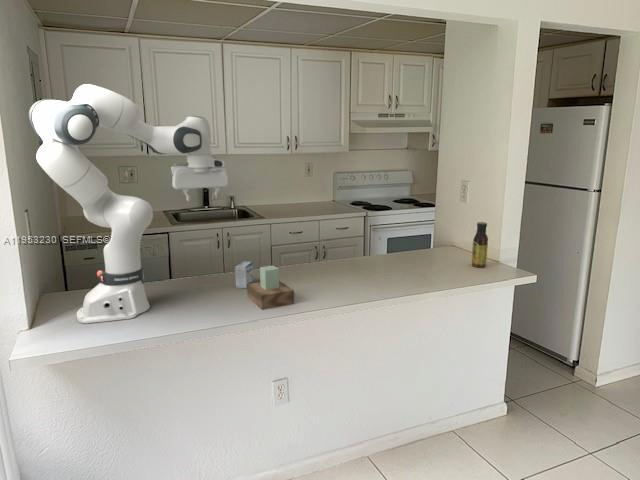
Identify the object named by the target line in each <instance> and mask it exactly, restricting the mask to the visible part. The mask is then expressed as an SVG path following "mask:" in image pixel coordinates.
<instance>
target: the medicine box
mask: <svg viewBox="0 0 640 480" xmlns="http://www.w3.org/2000/svg"><path fill="white" fill-rule="evenodd" d="M253 266H254V265H253V261H247V260H245V261H241V262H240V263H239V264H237V265H236V266H235V267H234V272H235V287H236V288H237V289H247V284H252V283H254V268H253Z"/></svg>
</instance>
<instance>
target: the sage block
mask: <svg viewBox="0 0 640 480" xmlns="http://www.w3.org/2000/svg"><path fill="white" fill-rule="evenodd" d="M279 272H280V270H279V268H278V267H276V266H275V265H267V266H261V267H259V279H260V280H259V282H260V286H261V287H262V288H264V289H265V290H270V289H276V288H279V281H280V280H279V278H280V275H279Z"/></svg>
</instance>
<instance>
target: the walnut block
mask: <svg viewBox="0 0 640 480" xmlns="http://www.w3.org/2000/svg"><path fill="white" fill-rule="evenodd" d="M246 290H247V291H246V293H247V298H248V299H249V300H250V301H251V302H252V303H253V304H254V305H256V306H257V307H258V308H259V309H261V310H267V309H273V308H276V307H277V308H279V307H284V306H289V305H293V304H295V290H294V289H293V288H291V287H290V286H288V285H287V284H285V283H284V282H282V281H281V280H279V288H276V289H270V290H265V289H264V288H262V287H261V286H260V281H259V282H253V283H252V284H247V288H246Z"/></svg>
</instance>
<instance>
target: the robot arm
mask: <svg viewBox="0 0 640 480" xmlns="http://www.w3.org/2000/svg"><path fill="white" fill-rule="evenodd" d="M140 117H141V116H140V110H139V107H138V105H137V104H136V103H135V102H133V101H132V100H131V99H130V98H127V97H126V96H124V95H122V94H120V93H117V92H115V91H113V90H110V89H108V88H105V87H101V86H98V85H94V84H91V83H90V84H89V83H87V84H86V83H84V84H82V85H79V87H77V88H76V89H75V91H74V93H73V96H72V98H71V100H69V101H65V100H58V99H57V100H56V99H51V98H45V99H41V100H38V101H36V102H34V103H33V104H32V106H31V107H30V108H29V111H28V118H29V123H30V124H31V127H32V129H33V131H34V133H35V137H36V139H37V140H38V141H39V142H42V145H40V146H39V148H38V149H37V152H36V161H37V163H38V165H39V166H40V168H41V169H42V170H43V171H44V172H45V173H46V174H47V176H48V177H49V178H50V179H51V180H53V181H54V183H55V184H56V185H58V186H59V187H60V188H61V189H63V191H65V192H66V193H67V194H69V196H71V198H73V199H74V200H75V201H76V202H78V203H79V204H80V205H79V206H81V207H82V208H83V209H82V210H83V214H84V217H85V219H86V220H87V221H88V222H90V223H92V224H93V225H95V226H99V227H102V228H107V229H111V235H110V240H109V242H108V243H106V244H105V245H104V247H103V250H102V251H103V259H104V261H103V262H104V268H105V270H98V271H97V272H96V275H97V278H99V283H98V284H97V285H96V286H94V287H93V288H92V289H91V290H89V291H88V292H87V293H86V295H85V296H84V299H83V304H82V307H80V308H79V309H78V310H77V312H76V319H77V321H78V322H79V323H82V324H92V323H103V322H111V321H119V320H130V319H134V318H135V317H138V315H139V314H142V313H144V312H147V311H148V310H149V309H150V306H151V305H150V303H149V300H148V298H147V295H146V291H145V285H144V284H145V276H144V270H143V267H142V261H141V243H142V242H141V241H142V237H143V234H144V232H145V230H146V229H147V228H148V227H149V226H150V225H151V223H152V222H153V219H154V211H153V207H152V206H151V204H150V203H149V202H148V201H147V200H144V199H142V198H140V197H137V196H133V195H132V196H131V195H123V194H122V195H121V194H117V193H116V192H113V191H112V190H111V189H110V187H109V186H108V183H109V181H108V178H107V176H106V175H105V174H104V173H103V172H102V171H101V170H100V169H99V168H97V167H96V165H95V164H94V163H92V162H91V161H90V160H89V159H88V158H87V157H86V156H85V155H84V154H82V152H81V150H79V147H78V146H81V145H85V144H87V143H88V142H90V141H91V140H92V139H93V137H94V136H95V134H96V132H97V129H98V127H101V128H104V129H107V130H109V131H112V132H116V133H119V134H122V135H123V134H124V135H127V136H128V137H131V138H134V139H135V140H138V141H140V142H142V143H144V144H145V145H146V146H147V147H148V148H149V149H150V150H151V151H152V152H154V153H155V154H157V155H167V154H168V155H169V154H170V155H185V154H186V162H177V163H174V164H172V165H171V167H170V172H171V176H172V183H171V185H172V188H173V189H175V190H182V193H183V194H184V195H185V196H186V197H185V198H186V201H187V202H192V195H189V194H188V192H189V189H190V190H191V189H206V188H213V189H214V193H212V194H211V200H217V199H218V196H217V195H218V193H219V192H220V190H221V189H220V188H221V187H222V188H224V187H228V185H229V184H230V183H229V182H230V181H229V175H228V170H227V168H226V163H225V160H222V159H218V158H216V157H212V156H213V155H212V154H213V153H212V150H211V144H212V137H211V135H212V134H211V126H210V123H209V120H208V119H207V118H205V117H203V116H198V115H197V116H196V115H189V116H186V118H185V119H184V121H182V122H181V123H179V124H177V125H150V124H149V123H147V122H144V121H142V120H141V118H140Z"/></svg>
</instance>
